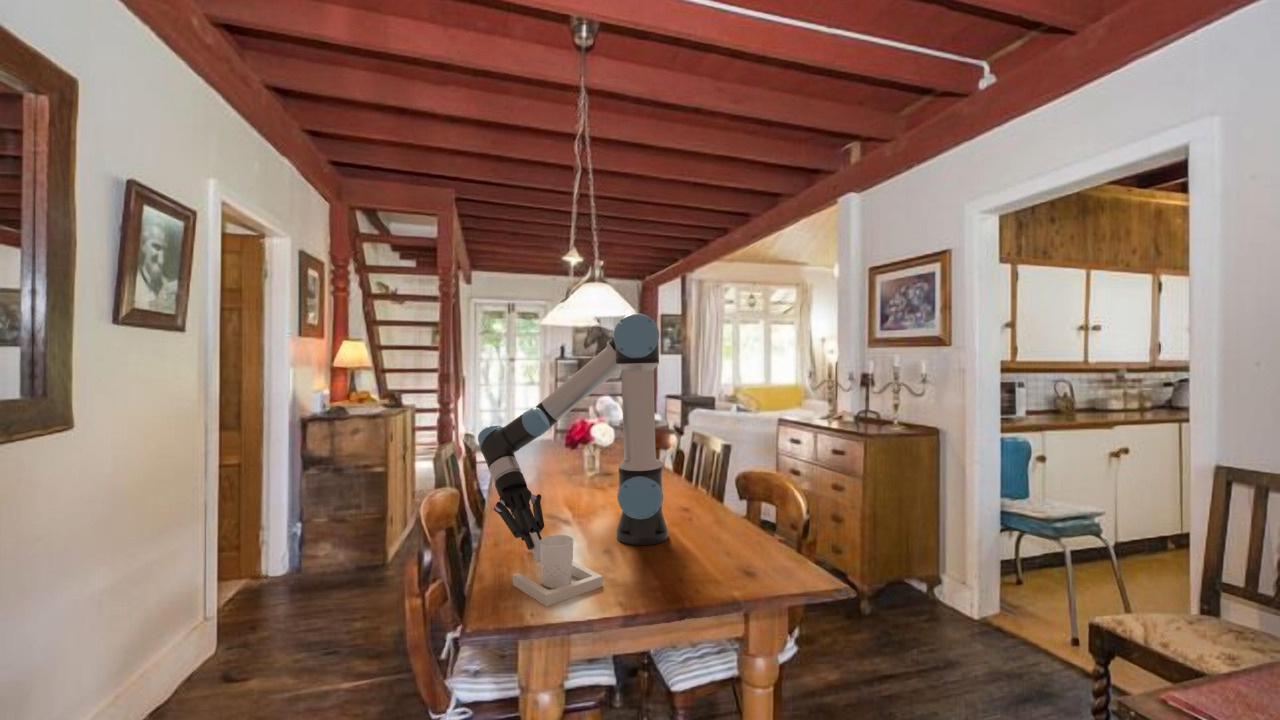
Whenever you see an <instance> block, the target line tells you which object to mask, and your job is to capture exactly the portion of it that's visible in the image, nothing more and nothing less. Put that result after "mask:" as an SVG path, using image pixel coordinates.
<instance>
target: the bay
mask: <svg viewBox="0 0 1280 720" xmlns="http://www.w3.org/2000/svg"><path fill="white" fill-rule="evenodd" d="M571 576H572V577H575V578H577V579H579V580H577V581H576V580H575V581H574V582H573V581H572V582H570V584H567V585H564V586H562V587H559V588H552V589H550V590H548V589H547V588H544V586H542V585H540V584H538V583H537V582H535V581H533V580H532V579H530V578H528V577H527V576H525V575H523V574H522V573H520V572H518V573H513V574H512V585H513V586H514V587H515V588H517V589H518V588H519V590H520V591H521V592H523V593H524V594H526V595H528V596H529V595H530V596H529V597H531V598H532V597H533V599H534V600H535V599H536V600H535V601H537V602H539V603H540V604H541V605H543V606H545V607H548V606H552V605H555V604H557V603H560V602H563V601H565V600H569V599H571V598H574V597H577V596H579V595H583V594H587V593H588V592H591V591H594V590H596V589H599V588H601V587H603V585H604V579H603V578H604V576H603V575H602V574H599V573H598V572H595V571H593V570H591V569H589V568H587V567H585V566H583V565H581V564H579V563H577V562H575V561H573V562H572V571H571Z"/></svg>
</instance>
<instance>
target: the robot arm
mask: <svg viewBox="0 0 1280 720" xmlns="http://www.w3.org/2000/svg"><path fill="white" fill-rule="evenodd" d="M659 340H660V332H659V327H658V325H657V324H656V322H655V320H654V319H652V318H651V317H650V316H648V315H647V314H643V313H639V312H635V313H629V314H627V315H624V316H623V317H622V318H621V319H620V320H618V322H617V323H616V325H615V327H614V331H613V336H612V337H611V338H610V339H608V341H607V343H606V347H605V348H604V349H603V350H601V351H600V352H599V353H598V354H596V355H595V356H594V357H593V358H592V359H590V360H589V362H586V364H584V365H583V366H582V367H581V368H580V369H579V370H577V372H575V373H574V374H573V375H572V376H570V378H568V379H567V380H566V381H565V382H563V383H562V384H561V385H560V386H558V387H557V388H556V389H555V390H554V391H552V392H551V393H550V394H549V395H548V396H546V397H545V398H544V399H543V400H542V401H541V402H539V403H538V404H537V405H536V406H534V407H533V406H532V408H530V409H528V410H526V411H524V412H523V413H522V414H521V415H518V417H516V418H514V420H512V421H510V422H509V423H508V424H507V425H505V426H503V427H502V426H501V425H498V424H492V425H489V426H488V427H485V428H483V429H482V430H481V431H480V432H479V434H478V436H477V441H478V445H479V448H480V452H481V454H482V455H483V459H484V460H485V461H484V462H485V463H486V464H487V468H488V471H489V474H490V476H491V479H492V482H493V483H494V486H495V489H496V491H497V495H498V496H499V501H497V502H496V504H495V506H494V508H493V511H494V512H495V513H497V514H498V515H499V516H500V517H501V519H502V520H503V522H504V523H505V525H506V526H507V527H508V530H509V531H510V532H511V534H512V535H513V536H514V538H515V539H519V538H521V541H524V543H525V545H526V547H527V550H529V551H531V552H532V556H533V557H534V560H535V563H536V564H538V563H541V558H540V540H541V539H542V538H543V537H542V535H541V533H542V531H543V529H544V528H545V521H544V517H543V516H544V515H543V511H542V504H541V502H542V501H541V500H542V495H541V494H540V493H538V494H537V495H536V494H533V493H532V491H531V490H530V489H528V484H527V481H526V479H525V476H524V474H523V472H522V470H521V468H520V464H519V463H518V460H517V457H516V456H515V453H517V452H518V451H519V450H521V449H522V448H524V447H525V446H527V445H528V444H530V443H531V442H533V441H534V440H536V439H538V438H539V437H542V435H544V434H545V433H546V432H548V431H549V430H550V429H551V428H552V427H553V426H554V425H555V424H557V423H558V421H560V420H562V418H564V417H565V416H566V415H567V414H568V413H570V411H571V412H572V410H573V409H574V408H575V407H576V406H578V405H579V404H581V402H583V401H584V400H585V399H586V398H587V397H589V396H590V395H591V394H592V393H593V392H594V391H596V390H597V389H598V388H599V387H601V386H602V385H603V384H604V383H606V382H607V381H608V380H609V379H610V378H611V377H612V376H614V375H615V374H616V373H618V372H619V371H621V387H622V388H621V392H622V393H621V394H622V395H621V396H622V427H623V428H622V429H623V431H622V433H623V434H622V435H623V438H622V439H623V460H621V462H620V463H619V465H618V492H617V495H616V496H617V502H618V505H619V507H620V509H621V510H622V511H621V515H620V518H619V521H618V524H617V526H616V539H617V540H618V541H619V542H621V543H624V544H627V545H634V546H651V545H657V544H661V543H663V542H665V541H667V540H668V538H669V533H668V531H669V530H668V525H667V522H666V519H665V517H664V514H663V510H662V509H663V502H664V494H663V493H664V492H663V466H662V464H663V463H662V461H661V460H660V459H657V457H656V456H657V455H656V454H657V453H656V420H655V419H656V413H655V411H656V410H655V378H654V377H655V376H654V373H655V372H654V371H655V369H656V367H658V366H659V365H660V350H659V349H660V346H659ZM530 502H531V503H530ZM531 505H532V509H531Z"/></svg>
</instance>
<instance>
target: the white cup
mask: <svg viewBox="0 0 1280 720" xmlns="http://www.w3.org/2000/svg"><path fill="white" fill-rule="evenodd" d="M541 538H542V539H541V540H540V558H541V562H540V569H541V570H540V571H541V580H542V585H543V587H546V588H549V589H556V588H559V587H562V586H564V585H567V584H570V583H572V575H571V571H572V562H574V561H573V559H574V541H575V540H574V537H572V536H570V535H566V534H552V535H547V536H544V537H541Z"/></svg>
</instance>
